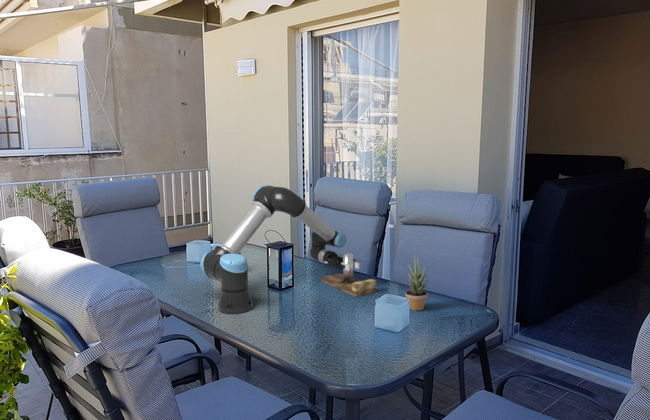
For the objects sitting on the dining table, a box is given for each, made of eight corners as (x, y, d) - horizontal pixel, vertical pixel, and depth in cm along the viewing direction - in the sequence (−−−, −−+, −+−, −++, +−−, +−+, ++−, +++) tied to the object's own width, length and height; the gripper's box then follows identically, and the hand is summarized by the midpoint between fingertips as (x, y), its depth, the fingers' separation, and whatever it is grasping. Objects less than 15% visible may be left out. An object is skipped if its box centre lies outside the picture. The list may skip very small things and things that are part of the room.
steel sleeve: (346, 281, 254) (346, 255, 252) (341, 279, 259) (341, 253, 256) (355, 279, 257) (355, 254, 255) (349, 277, 261) (349, 252, 259)
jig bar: (355, 296, 242) (355, 284, 242) (321, 281, 268) (321, 270, 267) (376, 292, 249) (376, 280, 248) (341, 277, 274) (341, 266, 273)
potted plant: (413, 303, 232) (414, 249, 228) (431, 308, 225) (432, 253, 222) (400, 309, 225) (400, 253, 222) (418, 314, 219) (419, 257, 215)
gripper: (342, 262, 277) (369, 271, 257) (313, 267, 267) (339, 277, 248) (342, 248, 276) (369, 257, 256) (313, 252, 266) (338, 262, 247)
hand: (354, 267), depth 252 cm, fingers closed on steel sleeve, 5 cm apart
